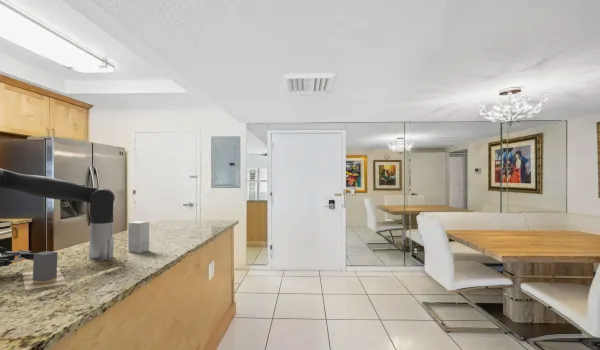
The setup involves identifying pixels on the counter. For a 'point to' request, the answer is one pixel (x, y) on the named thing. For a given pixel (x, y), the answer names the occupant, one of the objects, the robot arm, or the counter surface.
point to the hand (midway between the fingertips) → (21, 259)
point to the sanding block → (45, 266)
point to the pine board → (33, 285)
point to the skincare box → (138, 236)
